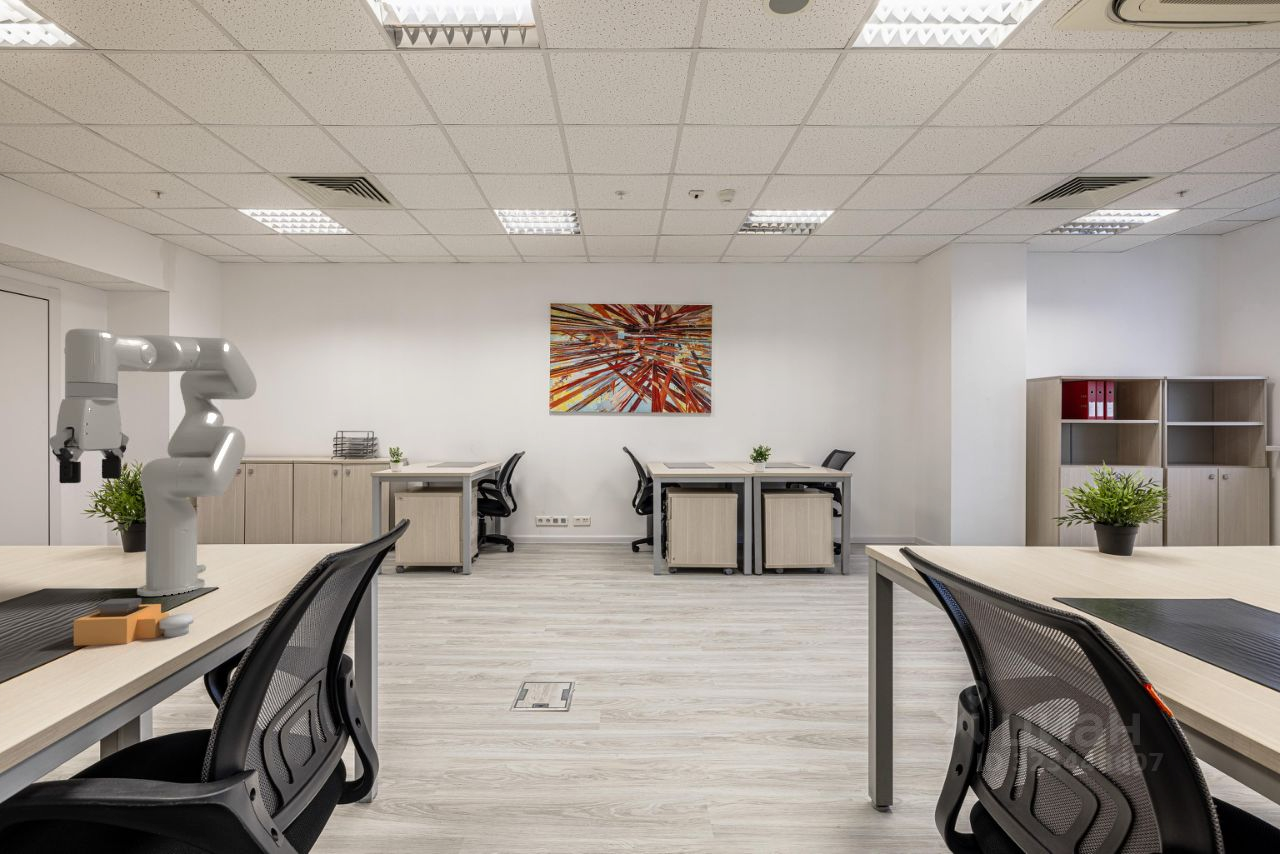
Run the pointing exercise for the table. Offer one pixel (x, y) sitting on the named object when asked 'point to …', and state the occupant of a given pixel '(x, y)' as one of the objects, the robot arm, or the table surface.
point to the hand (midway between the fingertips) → (91, 480)
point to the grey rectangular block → (119, 607)
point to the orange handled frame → (130, 626)
